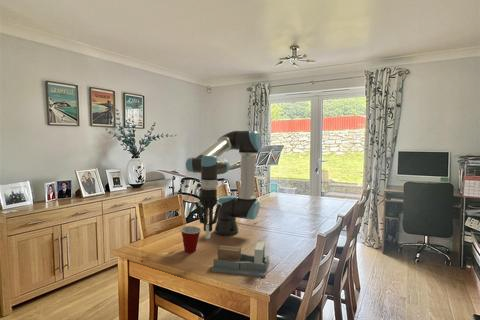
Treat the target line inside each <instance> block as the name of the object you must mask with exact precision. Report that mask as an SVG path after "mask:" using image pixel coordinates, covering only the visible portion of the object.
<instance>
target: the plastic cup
mask: <svg viewBox="0 0 480 320" xmlns="http://www.w3.org/2000/svg"><path fill="white" fill-rule="evenodd" d="M180 232H181V236H182V243H183V248H184V252H185V253H187V254H192V253H196V250H197V247H198V241H199V238H200V234H201V232H202V229H201V228H200V227H199V226H193V225H188V226H187V225H186V226H183V227H180Z"/></svg>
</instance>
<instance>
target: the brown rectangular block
mask: <svg viewBox="0 0 480 320" xmlns="http://www.w3.org/2000/svg"><path fill="white" fill-rule="evenodd" d="M241 253H242V247H240V246H231V245H221V244H220V246H219V247H218V248H217V259H218V260H228V261H237V262H241Z"/></svg>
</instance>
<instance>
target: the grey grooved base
mask: <svg viewBox="0 0 480 320" xmlns="http://www.w3.org/2000/svg"><path fill="white" fill-rule="evenodd" d="M265 246H266V243H265V242H257V243H256V245H255V248H254V251H253V252H254V254H248V253H243V252H241V262H237V261H228V260H218V258H213V262H212V263H213V266H212V268H211V272H214V273H225V274H232V275H240V276H241V275H242V276H249V277H256V278H266V276H267V273H268V269H269V265H270V257H269V255H265V252H266V247H265Z"/></svg>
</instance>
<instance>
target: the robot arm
mask: <svg viewBox="0 0 480 320" xmlns="http://www.w3.org/2000/svg"><path fill="white" fill-rule="evenodd" d="M262 145H263V144H262V137H261V134H260V133H259V132H258V131H256V130H233V131H230V132H227V133H225V134H223V135H222V136H220V137H219V138H217V141H216V142H215V143H213V144H212V145H211V146H209V147H208V148H207V149H205V150H204V151H203V152H201V153H200V154H199V155H197V156H196V157H188V158H187V159H186V161H185V168H186V170H187V172H190V173H198V174H199V173H200V175H201V176H200V188H201V189H200V197H199V198H200V199H199V201H197V202H195V203H194V205H195V207H196V208H197V209H196V210H197V215H198V218H199V223H200V224H202V225H203V231H204V232H205V240H209V239H210V238H211V232H212V231H213V225H215V226H214V234H216V235H219V236H223V237H224V236H227V237H228V236H235V235H237V234H239V226H238V224H237V218H238V219H243V220H244V219H246V220H255V219H256V218H257V217H258V215H259V212H260V209H261V204H260V201H258V200H257V196H256V194H255V186H256V185H255V183H256V182H255V179H256V178H255V177H256V156H257V155H258V153H259V151H260V150H261V149H262ZM231 150H232V151H233V150H236V151H237V150H238V154H239V155H240V157H241V158H240V188H239V189H240V194H239V195H238V196H237V195H224V196H221V197H219V198H218V197H217V196H218V193H217V192H218V189H217V188H218V175H224V174H227V173H228V172H229V170H230V168H231V166H230V162H229V161H228V160H227V159H225V158H219V157H221V156H222V155H223V154H224V153H227V152H229V151H231ZM202 207H203V208H202ZM214 207H216V208H215V212H214Z"/></svg>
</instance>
